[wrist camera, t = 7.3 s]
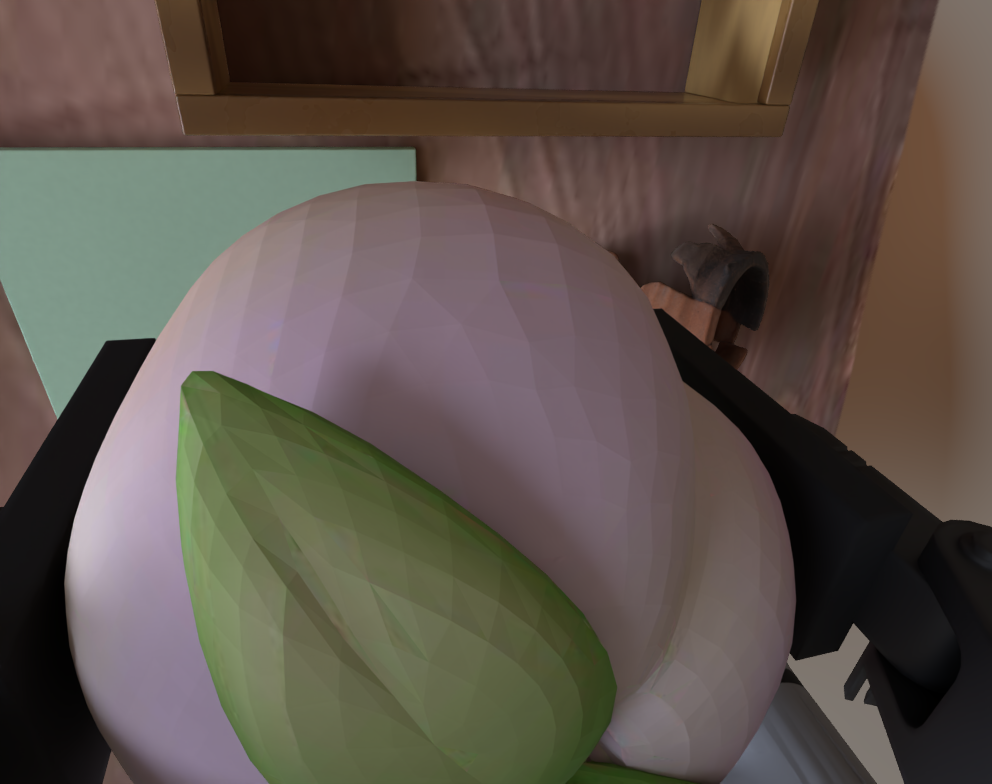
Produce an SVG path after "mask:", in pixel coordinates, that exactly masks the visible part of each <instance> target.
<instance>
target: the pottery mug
mask: <svg viewBox="0 0 992 784" xmlns="http://www.w3.org/2000/svg"><path fill="white" fill-rule="evenodd" d="M708 230H709V231H710V232H711V233H712V234H713V235H714V236H715V238H716V239H717V242H718V244H719V246H717V245H713V244H711V243H702V244H696V243H693V242H685V243H683V244H682V245H680V246H679V247H677V248H676V249H675V250H674V251H673V252H672V254H671V256H672V258H673V259H674V260H675V261H676V262H678V263H679V264H681V265H683V266H684V271H685V273H686V274H687V277H688V279H689V282H690V285H691V291H692V297H689V296H687V295H686V294H683V293H681V292H678V291H677V290H675V289H673V288H671V287H669V286H667V285H666V284H664V283H662V282H656V283H654V282H653V283H648V284H645V285H643V286H642V287H641V290H642V291H643V292H644V293H645V295H646V296H647V297H648V299H649V301H650V303H651V306H652V308H653V309H661V308H662V309H663V310H664V311H665V312H666V313H668V314H669V315H670V316H671V317H673V318H674V319H675V320H676V321H678V322H679V323H680V324H681V325H682V326H684V327H685V328H686V329H687V330H689V331H690V332H691V333H692V334H693V335H695V336H696V337H697V338H698V339H700V340H701V341H702V342H703V343H704V344H706V345H707V346H708V347H709V348H711V349H712V342H713V340H714V341H717V342H720V343H719V345H718V348H717V349H716V351H715V352H716V353H717V354H718V355H719V356H720V357H722V358H723V359H724V360H725V361H727V362H728V363H729V364H730V365H731V366H733V367H734V368H735V369H736V370H737V369H738V368H739V366H740V365H741V364H742V362H743V361H744V359H745V357H746V355H747V351H748V350H747V349H746V348H743V347H739V346H736V345H734V342H735V340H736V338H737V335H738V332H739V329H740V325H741V324H742V325H744V326H746V327H747V328H750V329H751V330H753V331H756V330H758V328H759V326H760V323H761V320H762V317H763V314H764V310H765V306H766V302H767V297H768V290H769V274H768V272H769V269H768V262H767V261H766V258H765V255H763V253H761V252H755V251H745V250H744V249H743V248H742V246H741V244H740V243H739V241H738V240H737V239H736V238H735V237H733V236H732V235H731V234H730V233H729V232H727V231H726V230H724V229H723V228H721V227H719V226H717V225H714V224H710V225H709V226H708ZM608 252H609V251H608ZM609 253H611V254H612V255H613V256H614V257H615V258H616V259H617V260H618V261H619V257H618V255H617V254H615V253H613V252H609Z"/></svg>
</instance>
